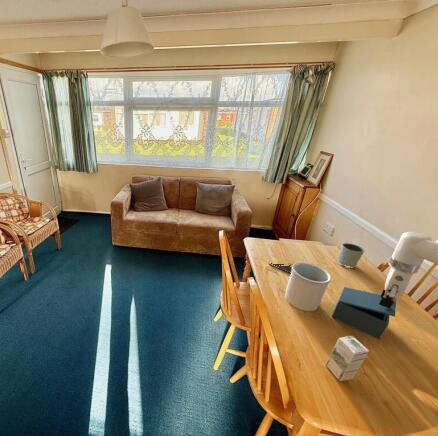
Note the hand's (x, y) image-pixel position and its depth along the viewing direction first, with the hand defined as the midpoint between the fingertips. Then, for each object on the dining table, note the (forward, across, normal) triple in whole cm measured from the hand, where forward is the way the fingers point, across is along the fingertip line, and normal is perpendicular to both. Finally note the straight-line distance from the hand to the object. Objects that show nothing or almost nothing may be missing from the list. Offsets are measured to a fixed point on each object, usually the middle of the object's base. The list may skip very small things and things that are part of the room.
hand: (385, 302), depth 91 cm
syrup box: (+14, -34, +6) cm, 37 cm away
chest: (+14, 0, +5) cm, 15 cm away
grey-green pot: (+13, +49, +16) cm, 53 cm away
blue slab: (+3, 0, +5) cm, 5 cm away
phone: (+12, +18, +41) cm, 46 cm away
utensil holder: (+13, -5, +26) cm, 29 cm away
